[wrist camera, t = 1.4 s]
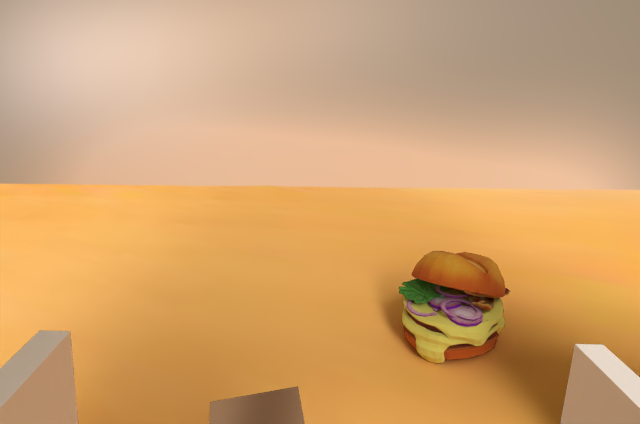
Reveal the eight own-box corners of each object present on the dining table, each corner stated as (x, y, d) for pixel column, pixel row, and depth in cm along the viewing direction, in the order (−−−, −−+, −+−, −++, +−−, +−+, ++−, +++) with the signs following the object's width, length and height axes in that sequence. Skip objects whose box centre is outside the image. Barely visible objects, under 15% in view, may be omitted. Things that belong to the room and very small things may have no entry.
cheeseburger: (376, 348, 51) (384, 250, 50) (424, 318, 60) (432, 234, 58) (476, 383, 46) (489, 274, 44) (513, 345, 54) (525, 252, 52)
